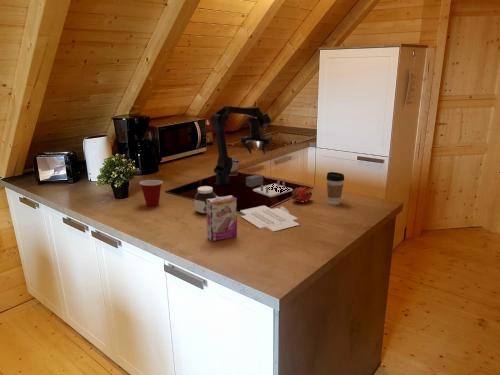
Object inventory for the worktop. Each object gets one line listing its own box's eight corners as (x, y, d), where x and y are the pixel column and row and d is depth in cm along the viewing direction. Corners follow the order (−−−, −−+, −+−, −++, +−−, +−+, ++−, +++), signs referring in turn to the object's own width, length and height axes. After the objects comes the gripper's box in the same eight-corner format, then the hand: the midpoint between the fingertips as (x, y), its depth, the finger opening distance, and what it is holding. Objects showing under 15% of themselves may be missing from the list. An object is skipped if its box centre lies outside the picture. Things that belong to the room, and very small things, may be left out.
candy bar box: (212, 242, 153) (210, 202, 148) (207, 238, 158) (205, 199, 153) (237, 236, 158) (237, 197, 153) (232, 232, 163) (231, 194, 158)
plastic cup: (168, 202, 198) (166, 179, 194) (157, 209, 188) (155, 185, 185) (149, 200, 201) (147, 177, 198) (137, 207, 191) (134, 183, 188)
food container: (240, 173, 249) (240, 157, 246) (239, 175, 244) (239, 159, 240) (221, 172, 251) (221, 157, 248) (219, 175, 245) (219, 159, 242)
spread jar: (193, 214, 182) (192, 190, 178) (199, 206, 193) (198, 183, 189) (219, 215, 180) (218, 191, 177) (224, 207, 191) (223, 184, 187)
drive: (251, 187, 221) (251, 178, 219) (246, 185, 224) (245, 177, 223) (263, 184, 227) (263, 175, 225) (257, 182, 230) (257, 174, 228)
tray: (270, 197, 204) (271, 189, 203) (253, 190, 214) (253, 183, 213) (292, 190, 214) (292, 183, 213) (274, 185, 224) (274, 178, 223)
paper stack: (267, 235, 161) (267, 226, 160) (233, 216, 184) (233, 208, 183) (306, 224, 171) (307, 216, 170) (270, 207, 194) (270, 200, 193)
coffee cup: (326, 199, 200) (327, 170, 196) (343, 201, 198) (345, 172, 193) (324, 205, 193) (325, 175, 188) (341, 206, 190) (343, 176, 186)
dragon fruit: (289, 206, 196) (309, 205, 201) (298, 200, 189) (318, 200, 194) (286, 190, 198) (305, 190, 204) (295, 184, 191) (315, 184, 197)
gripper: (275, 125, 235) (277, 150, 241) (247, 124, 244) (249, 149, 250) (267, 130, 226) (269, 156, 232) (238, 129, 235) (241, 154, 241)
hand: (257, 153), depth 239 cm, fingers open, 9 cm apart
